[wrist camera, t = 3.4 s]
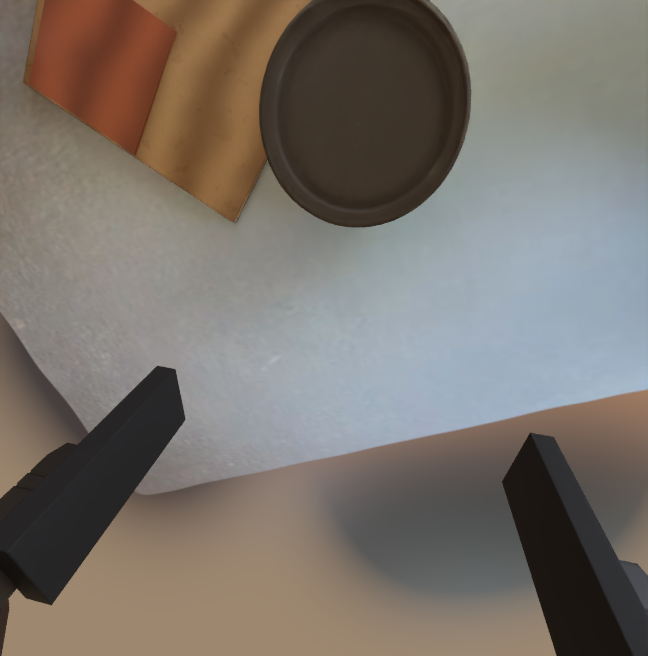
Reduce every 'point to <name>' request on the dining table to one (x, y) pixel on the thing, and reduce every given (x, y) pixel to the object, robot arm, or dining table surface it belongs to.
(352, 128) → the coffee can
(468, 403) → the dining table surface
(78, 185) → the dining table surface
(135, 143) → the placemat
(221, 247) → the dining table surface
